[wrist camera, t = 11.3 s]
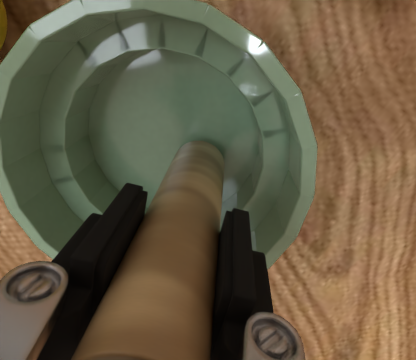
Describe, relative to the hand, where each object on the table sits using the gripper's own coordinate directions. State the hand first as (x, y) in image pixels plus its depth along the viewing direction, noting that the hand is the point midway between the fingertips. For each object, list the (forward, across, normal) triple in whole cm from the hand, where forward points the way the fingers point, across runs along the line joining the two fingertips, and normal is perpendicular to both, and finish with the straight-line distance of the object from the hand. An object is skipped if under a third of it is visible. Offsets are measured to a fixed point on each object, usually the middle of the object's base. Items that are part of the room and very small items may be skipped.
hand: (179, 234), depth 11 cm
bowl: (+8, +2, -1) cm, 8 cm away
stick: (+7, 0, 0) cm, 7 cm away
